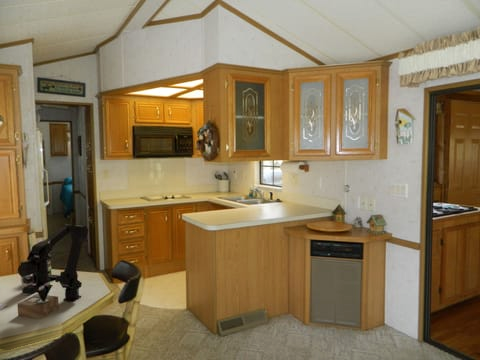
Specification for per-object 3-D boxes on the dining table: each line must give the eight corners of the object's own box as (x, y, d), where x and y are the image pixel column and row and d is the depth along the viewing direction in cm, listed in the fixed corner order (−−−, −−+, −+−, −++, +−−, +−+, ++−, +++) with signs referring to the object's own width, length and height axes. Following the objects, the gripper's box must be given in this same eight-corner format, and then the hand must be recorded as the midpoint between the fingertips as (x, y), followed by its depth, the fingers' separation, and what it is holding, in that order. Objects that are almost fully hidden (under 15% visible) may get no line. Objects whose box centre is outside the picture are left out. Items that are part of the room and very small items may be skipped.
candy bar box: (29, 288, 216) (27, 260, 214) (38, 287, 216) (37, 259, 215) (21, 295, 205) (19, 266, 203) (31, 295, 205) (29, 266, 204)
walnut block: (37, 305, 192) (37, 293, 192) (58, 308, 189) (58, 296, 188) (18, 315, 181) (17, 303, 180) (39, 318, 177) (39, 306, 177)
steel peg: (33, 308, 188) (32, 297, 188) (40, 309, 187) (39, 298, 187) (27, 312, 184) (26, 300, 184) (33, 313, 183) (32, 301, 183)
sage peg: (44, 310, 186) (43, 298, 186) (50, 311, 185) (49, 299, 185) (37, 313, 183) (36, 302, 182) (44, 314, 181) (43, 303, 181)
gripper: (43, 262, 193) (44, 292, 195) (11, 275, 175) (14, 307, 177) (61, 264, 190) (62, 294, 191) (31, 277, 172) (33, 309, 174)
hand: (43, 301), depth 183 cm, fingers closed, pressing on sage peg
